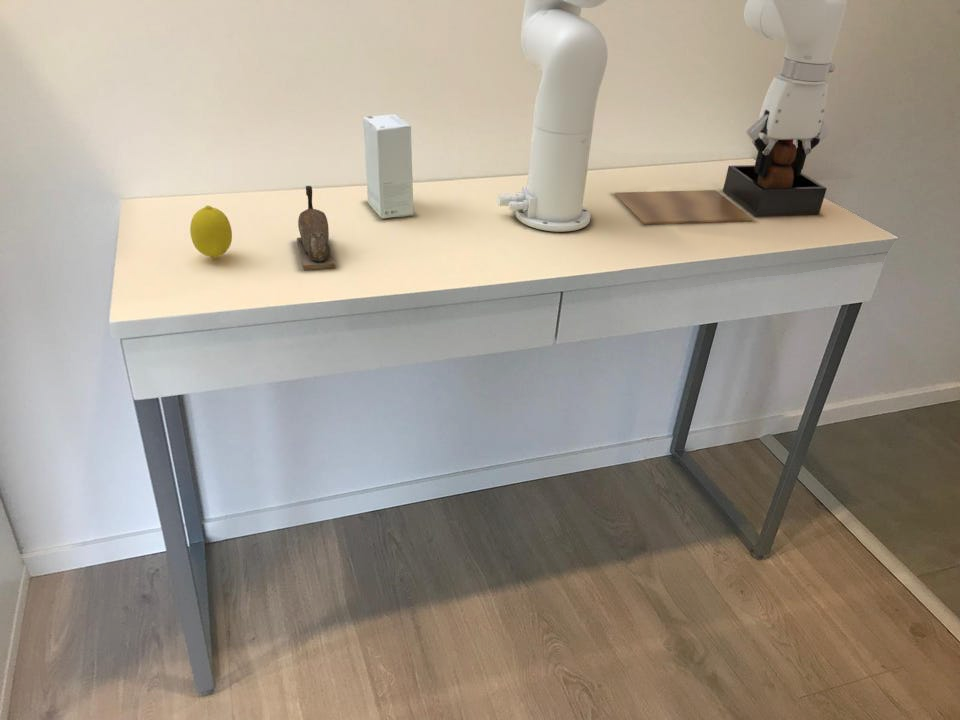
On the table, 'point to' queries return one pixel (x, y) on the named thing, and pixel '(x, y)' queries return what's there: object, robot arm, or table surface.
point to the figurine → (314, 238)
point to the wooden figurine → (780, 166)
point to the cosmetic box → (389, 165)
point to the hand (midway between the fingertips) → (777, 173)
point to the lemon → (211, 232)
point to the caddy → (773, 194)
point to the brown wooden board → (681, 207)
